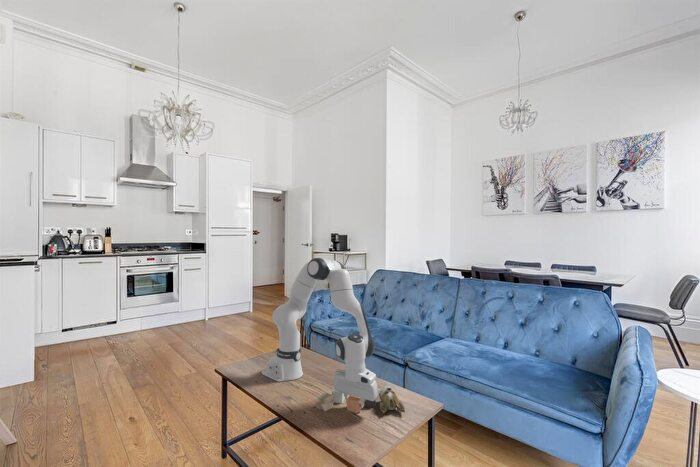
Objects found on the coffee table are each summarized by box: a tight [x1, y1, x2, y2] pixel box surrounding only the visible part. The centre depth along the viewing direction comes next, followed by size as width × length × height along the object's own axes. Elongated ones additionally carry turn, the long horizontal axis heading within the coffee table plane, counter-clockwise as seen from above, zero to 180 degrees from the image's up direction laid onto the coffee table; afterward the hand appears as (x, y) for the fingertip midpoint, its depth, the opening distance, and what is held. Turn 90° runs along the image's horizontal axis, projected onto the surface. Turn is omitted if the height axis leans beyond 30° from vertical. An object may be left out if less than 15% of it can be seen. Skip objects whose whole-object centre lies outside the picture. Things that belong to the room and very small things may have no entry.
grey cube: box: [331, 388, 346, 404], centre depth 145 cm, size 5×5×5 cm
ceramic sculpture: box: [378, 383, 406, 414], centre depth 139 cm, size 11×9×15 cm
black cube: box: [363, 398, 377, 408], centre depth 142 cm, size 5×5×5 cm
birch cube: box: [316, 391, 334, 412], centre depth 139 cm, size 5×5×5 cm
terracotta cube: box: [346, 395, 363, 414], centre depth 138 cm, size 5×5×5 cm
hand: (354, 405), depth 138 cm, fingers closed on terracotta cube, 5 cm apart
